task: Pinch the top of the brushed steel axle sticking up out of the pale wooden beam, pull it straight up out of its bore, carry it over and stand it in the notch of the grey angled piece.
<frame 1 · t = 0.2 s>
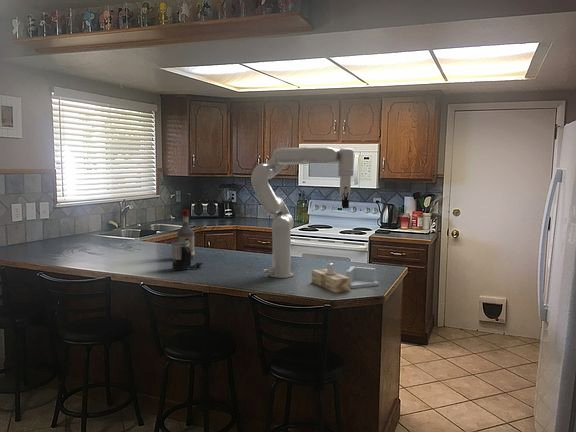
hand: (345, 207, 241), 37 cm above the table, tool pointing down, fingers open, 9 cm apart
grey angled piece: (356, 283, 235), on the table
axle: (330, 275, 228), in the beam
beam: (330, 286, 229), on the table
liquor: (186, 259, 295), on the table
milk frother: (187, 269, 266), on the table
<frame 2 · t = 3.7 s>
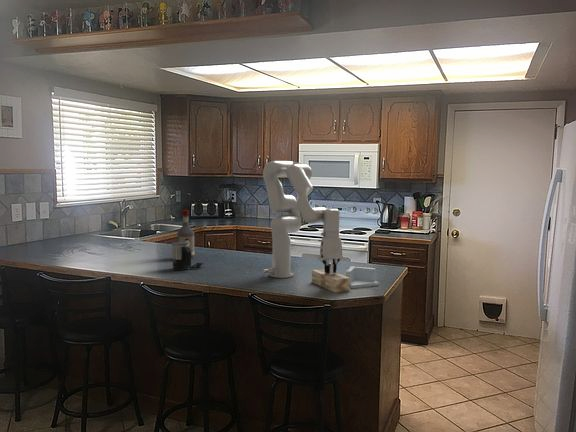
hand: (330, 272, 228), 7 cm above the table, tool pointing down, fingers closed on axle, 3 cm apart
axle: (330, 275, 228), in the beam, touching gripper
everything else where it was.
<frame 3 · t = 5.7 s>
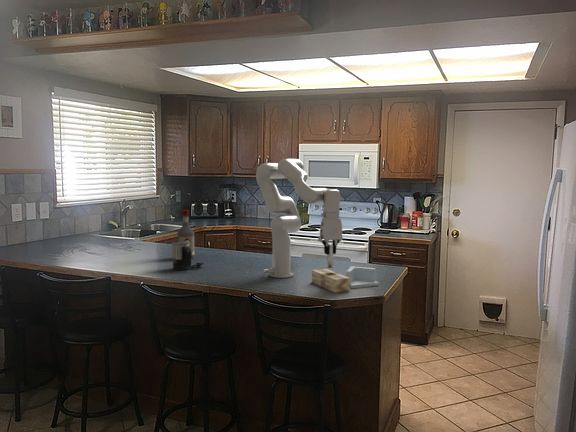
hand: (330, 253, 228), 16 cm above the table, tool pointing down, fingers closed on axle, 3 cm apart
axle: (330, 256, 228), point 15 cm above the table, touching gripper
everything else where it was.
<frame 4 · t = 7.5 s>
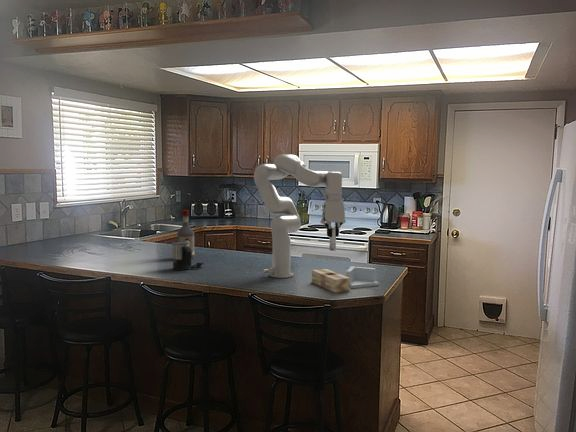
hand: (332, 236, 227), 24 cm above the table, tool pointing down, fingers closed on axle, 3 cm apart
axle: (332, 238, 227), point 23 cm above the table, touching gripper
everything else where it was.
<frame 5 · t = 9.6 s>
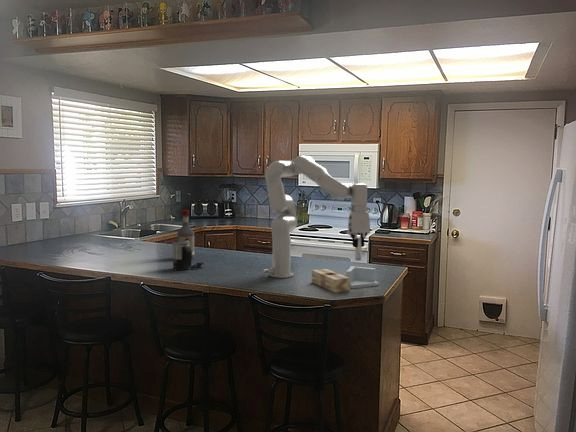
hand: (358, 246, 233), 18 cm above the table, tool pointing down, fingers closed on axle, 3 cm apart
axle: (358, 248, 233), point 17 cm above the table, touching gripper
everything else where it was.
when the fingers open (10 cm above the table, at t = 11.4 s): axle drops 1 cm, resting on grey angled piece.
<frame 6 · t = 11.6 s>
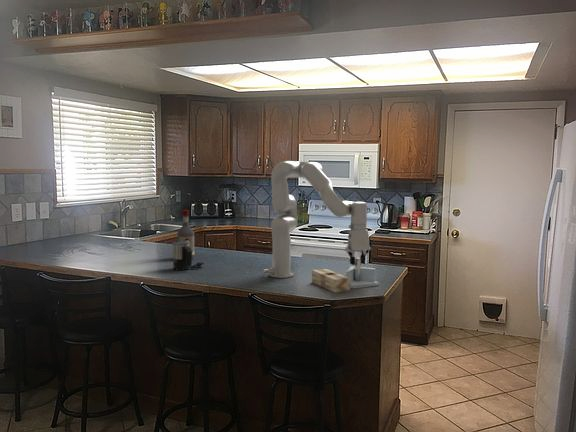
hand: (357, 263, 234), 10 cm above the table, tool pointing down, fingers open, 5 cm apart
axle: (357, 269, 234), point 7 cm above the table, touching grey angled piece
everything else where it was.
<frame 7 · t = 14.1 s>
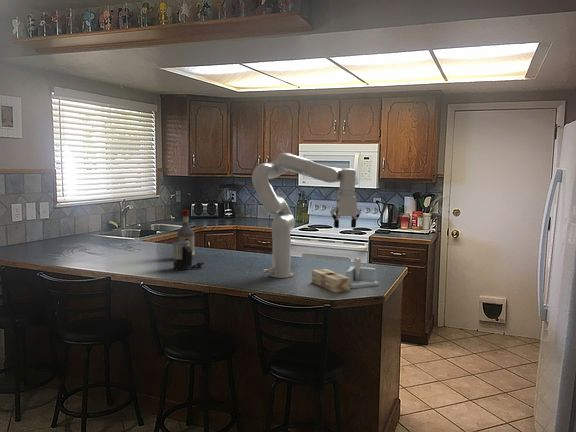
hand: (344, 227, 239), 27 cm above the table, tool pointing down, fingers open, 9 cm apart
nothing on the table moved.
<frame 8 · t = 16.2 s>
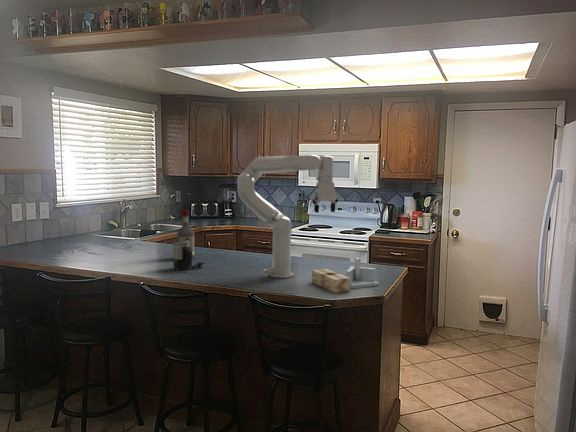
hand: (324, 212, 252), 33 cm above the table, tool pointing down, fingers open, 9 cm apart
nothing on the table moved.
at the end: axle 0.3 cm off-centre on the grey angled piece, point 7.0 cm above the grey angled piece's base; axle tilted 0°; the gripper is holding nothing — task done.
